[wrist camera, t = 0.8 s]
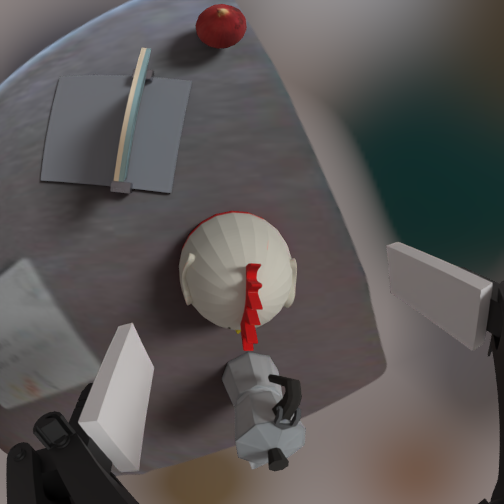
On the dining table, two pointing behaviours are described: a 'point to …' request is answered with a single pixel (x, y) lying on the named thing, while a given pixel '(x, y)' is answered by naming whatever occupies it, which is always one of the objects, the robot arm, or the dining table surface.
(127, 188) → the hinge blocks
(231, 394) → the coffee maker
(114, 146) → the base plate
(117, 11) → the dining table surface
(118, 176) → the flap
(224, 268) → the kitchen timer
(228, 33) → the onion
